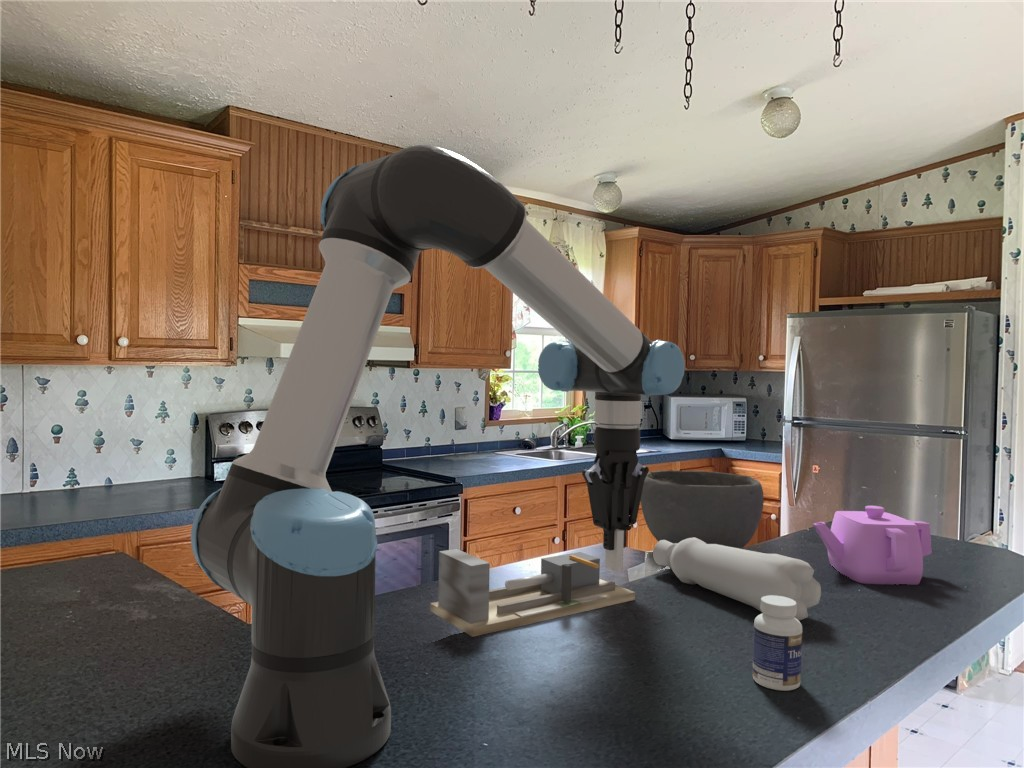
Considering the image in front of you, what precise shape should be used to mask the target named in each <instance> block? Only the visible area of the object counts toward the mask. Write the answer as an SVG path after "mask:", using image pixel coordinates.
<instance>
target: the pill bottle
mask: <svg viewBox="0 0 1024 768" xmlns="http://www.w3.org/2000/svg"><path fill="white" fill-rule="evenodd" d="M760 608H761V611H762V612H761V611H760V612H761V613H760V614H758V615H757V616H756V617H755V618H754V623H753V647H752V650H753V651H752V652H753V653H752V678H753V680H754V681H755V683H757V685H758V684H759V685H760V686H762V687H765V688H767V689H771V690H775V691H782V692H783V691H784V692H788V691H793V690H796V689H797V688H799V687H800V686H801V680H802V679H801V678H802V677H801V676H802V654H803V647H802V646H803V624H802V623H801V622H800V620H797V619H796V618H794V616H796V613H797V603H796V601H794V600H793V599H790V598H787V597H783V596H775V595H769V596H764V597H762V598H761V606H760Z"/></svg>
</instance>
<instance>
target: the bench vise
mask: <svg viewBox="0 0 1024 768" xmlns="http://www.w3.org/2000/svg"><path fill="white" fill-rule="evenodd" d="M490 564H491V563H490V562H488V561H487V560H484V559H481V558H479V557H477V556H474V555H472V554H470V553H468V552H465V551H463V550H461V549H459V548H453V549H446V550H440V551H439V552H438V592H437V593H438V594H437V596H438V599H437V600H438V601H436V602H435V601H434V602H430V603H429V604H430V613H432V614H435V615H436V616H437V617H439V618H440V619H442V620H444V621H445V622H447V623H448V624H451V625H452V626H453V627H455V628H457V629H459V630H461V631H462V632H463V633H466V634H467V635H468V636H470V637H472V638H473V637H478V636H481V635H482V636H483V635H486V634H492V633H495V632H500V631H505V630H508V629H514V628H516V627H521V626H526V625H531V624H534V623H541V622H543V621H547V620H552V619H556V618H561V617H565V616H569V615H575V614H578V613H584V612H587V611H591V610H592V611H593V610H596V609H601V608H605V607H609V606H613V605H618V604H622V603H627V602H630V601H635V600H636V598H635V597H636V592H635V591H633V590H630V589H627V588H625V587H622V586H619V585H617V584H616V582H614V581H606V580H604V579H601V578H599V584H597V585H592V586H587V587H583V588H578V589H573V590H571V602H568V603H566V602H564V601H562V592H558V593H553V594H552V593H549V592H547V591H545V590H542V589H541V584H538V585H533V586H528V587H523V588H518V589H512V590H507V589H506V587H505V586H504V587H499V588H492V589H490V571H491V570H490V567H491V566H490Z"/></svg>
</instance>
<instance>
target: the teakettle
mask: <svg viewBox="0 0 1024 768" xmlns="http://www.w3.org/2000/svg"><path fill="white" fill-rule="evenodd" d="M864 508H865V511H862V510H861V511H860V510H837V511H835V512H834V516H833V519H832V523H831V527H830V528H829V526H828V525H827V523H826V522H824V521H819V522H818V521H817V522H813V523H812V524H813V527H814V529H815V531H816V532H817V534H818V536H819V538H820V539H821V541H822V543H823V544H824V546H825V548H826V549H827V556H828V562H829V564H831V565H830V566H831V567H832V566H833V567H834V568H835V569H836V570H837V571H836V570H835V569H834V568H833V567H832V568H833V569H834V570H835V571H836V572H838V571H839V572H840V573H839V572H838V573H839V574H841V573H842V574H843V576H844V575H845V576H844V577H846V576H847V577H846V578H848V577H849V578H848V579H850V580H852V581H854V582H856V583H859V584H865V585H894V584H896V585H898V586H899V584H907V585H906V586H908V585H909V586H911V585H913V586H916V585H917V586H918V585H920V582H921V580H922V578H923V575H924V574H923V573H924V559H923V558H925V557H926V556H929V555H930V554H931V555H932V553H933V552H932V536H931V523H929V522H926V521H923V520H911V519H910V520H909V519H907V518H904V517H901V516H898V515H895V514H893V513H889V512H886V511H885V510H886V509H885V507H882V506H878V505H865V506H864ZM842 574H841V575H842ZM894 586H895V585H894Z"/></svg>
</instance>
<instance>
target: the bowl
mask: <svg viewBox="0 0 1024 768" xmlns="http://www.w3.org/2000/svg"><path fill="white" fill-rule="evenodd" d="M763 490H764V489H763V486H762V484H761V482H760V481H759V480H758V479H755V478H753V477H751V476H750V475H744V474H743V475H742V474H734V473H727V472H717V471H707V470H661V469H660V470H655V471H649V472H648V474H647V476H646V478H645V480H644V485H643V490H642V495H641V500H640V506H641V512H642V514H643V515H642V516H643V518H644V520H645V523H646V527H647V528H648V530H649V531H650V533H651V535H652V536H653V537H654V539H655V540H656V541H657V542H659V541H660V540H666V541H669V542H671V543H679V542H681V541H682V540H685V539H687V538H693V537H695V538H697V539H700V540H702V541H704V542H705V543H706V544H718V545H723V546H728V547H734V548H739V549H743V548H744V547H746V545H748V544H749V542H750V541H752V539H753V537H754V536H755V533H756V531H757V530H758V527H759V526H760V525H759V524H760V521H761V518H762V514H763V510H764V503H765V502H764V491H763Z"/></svg>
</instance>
